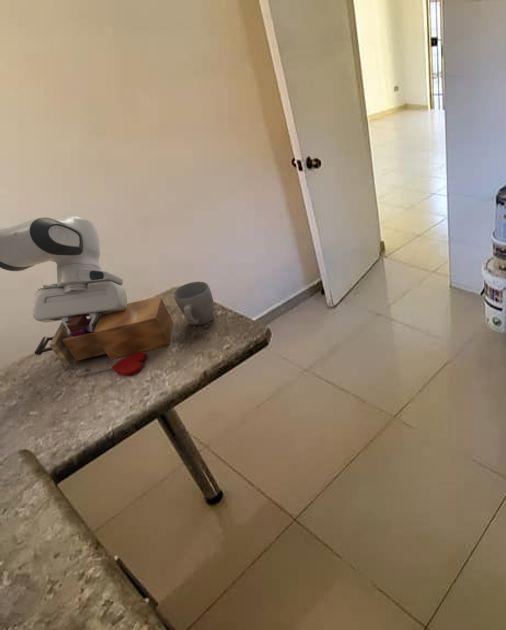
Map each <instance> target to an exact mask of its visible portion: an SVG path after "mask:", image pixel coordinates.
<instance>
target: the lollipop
mask: <svg viewBox="0 0 506 630" xmlns="http://www.w3.org/2000/svg"><path fill="white" fill-rule="evenodd" d="M146 359H147V354H146V353H145V352H144V351H143V352H137V353H133V354H131V355H127V356H124V357H122V358H121V359H120V360H118V361H117V362H115V363H114V364H113V365H112V366H110V367H106V368H101V369H96V370H91V371H86V372H81V373H76V374H75V375H74V376H75V377H79V376H84V375H89V374H92V373H97V372H98V373H99V372H101V371H107V370H112V371H113V372H115V373H116V374H118V375H119V376H120V375H121V376H131V375H135V374H137V373H138V372H140V371H141V370H142V368H143V366H144V364H143V362H144V361H145V360H146Z"/></svg>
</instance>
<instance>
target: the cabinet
mask: <svg viewBox="0 0 506 630" xmlns="http://www.w3.org/2000/svg"><path fill="white" fill-rule="evenodd" d="M173 325H174V321H173V319H172V316H171V315H170V313H169V310H168V309H167V306H166V305H165V302H164V300H163V298H162V296H156V297H151V298H147V299H142V300H138V301H137V300H136V301H134V302H127V308H126V309H125V310H124V311H120V312H113V313H106V314H101V316H100V318H99V321H98V323H97V326H96V328H95V330H94V334H95V335H96V337H97V339H98V340H99V342H100V343H101V345H102V347H103V348H104V350H105V352H106V353H107V354H106V355H107V357H108V358H109V360H115V359H119V358H124V357H127V356H129V355H131V354H133V353H137V352H143V353H144V352H147V351H151V350H155V349H158V348H163V347H168V346H170V344H171V338H172V331H173Z"/></svg>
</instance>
